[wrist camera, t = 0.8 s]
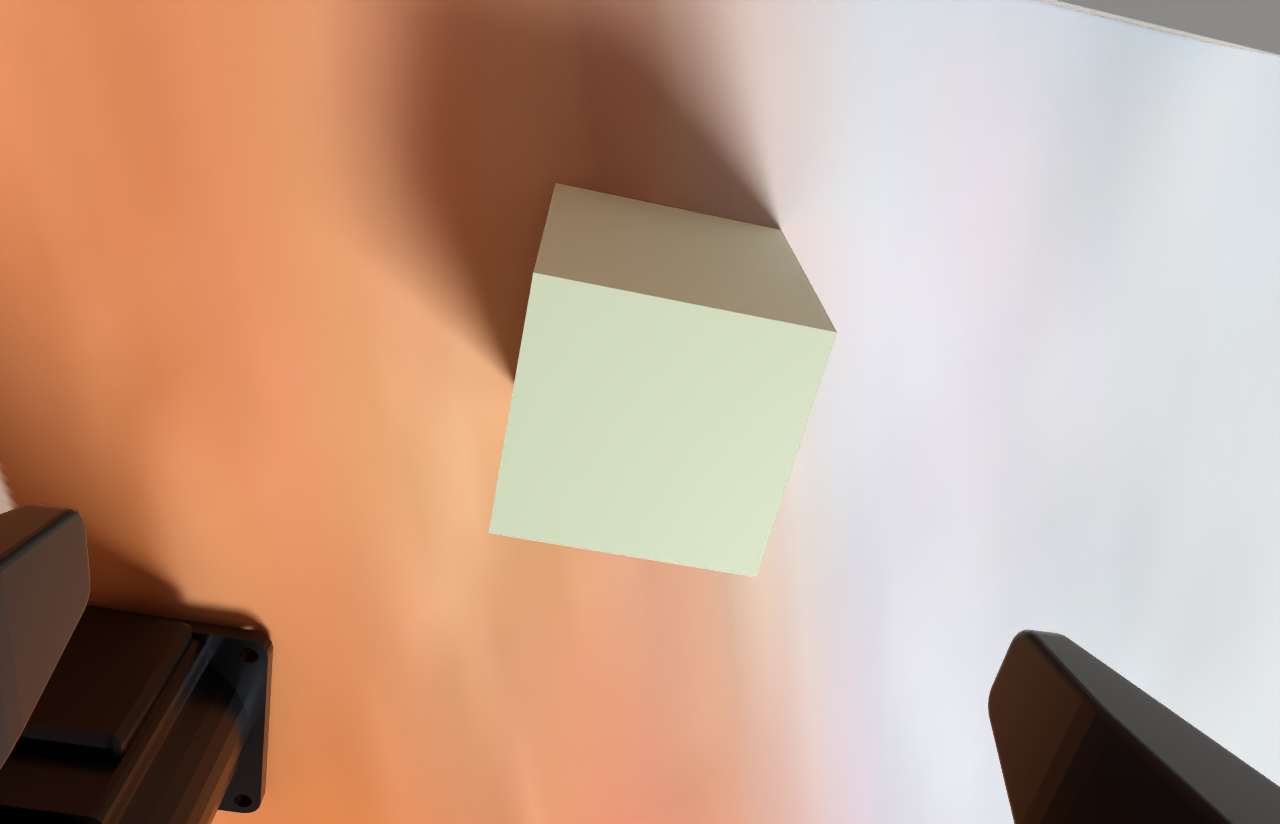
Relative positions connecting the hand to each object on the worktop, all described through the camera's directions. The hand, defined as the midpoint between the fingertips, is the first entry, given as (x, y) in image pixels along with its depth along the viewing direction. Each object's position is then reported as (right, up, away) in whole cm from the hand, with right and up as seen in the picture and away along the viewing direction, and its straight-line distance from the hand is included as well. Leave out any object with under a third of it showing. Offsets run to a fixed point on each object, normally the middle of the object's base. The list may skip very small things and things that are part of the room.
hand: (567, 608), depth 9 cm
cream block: (+1, +4, +13) cm, 13 cm away
